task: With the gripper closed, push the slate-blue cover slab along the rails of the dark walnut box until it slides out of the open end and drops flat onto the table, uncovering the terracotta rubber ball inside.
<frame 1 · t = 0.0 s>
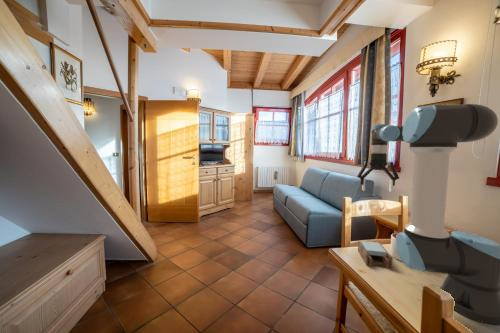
hand: (376, 191, 117), 28 cm above the table, fingers open, 13 cm apart
walnut box: (373, 259, 98), on the table
cup: (402, 258, 99), on the table
ball: (371, 255, 101), resting on walnut box
cover slab: (372, 250, 99), point 4 cm above the table, touching walnut box
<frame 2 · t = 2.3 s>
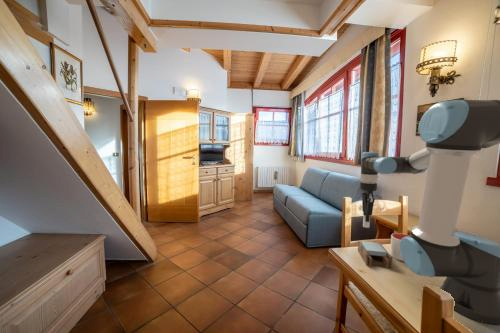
hand: (366, 226, 109), 11 cm above the table, fingers closed
nothing on the table moved.
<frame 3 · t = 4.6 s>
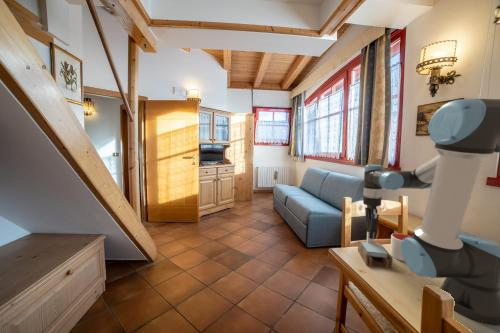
hand: (370, 243, 103), 5 cm above the table, fingers closed
cover slab: (373, 251, 98), point 4 cm above the table, touching gripper
everything else where it was.
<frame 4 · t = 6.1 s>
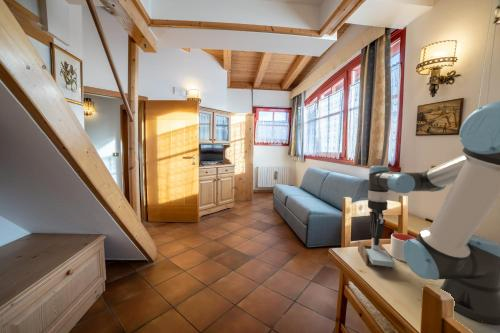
hand: (375, 250, 96), 5 cm above the table, fingers closed
cover slab: (379, 259, 90), point 4 cm above the table, touching gripper, walnut box
everything else where it was.
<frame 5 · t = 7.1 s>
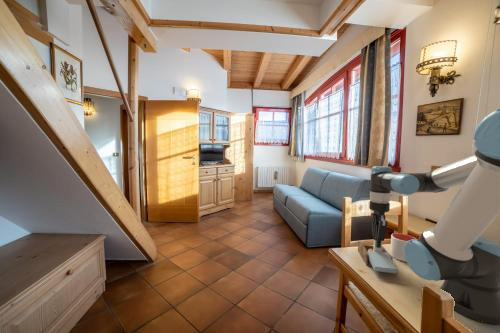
hand: (377, 253, 94), 5 cm above the table, fingers closed
cover slab: (381, 263, 88), point 3 cm above the table, tilted 11°
everything else where it was.
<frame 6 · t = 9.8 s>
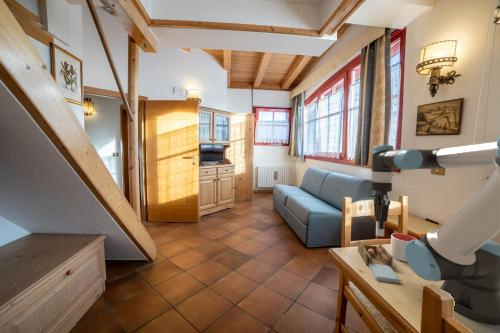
hand: (379, 235, 91), 14 cm above the table, fingers closed
cover slab: (382, 275, 86), on the table
everything else where it was.
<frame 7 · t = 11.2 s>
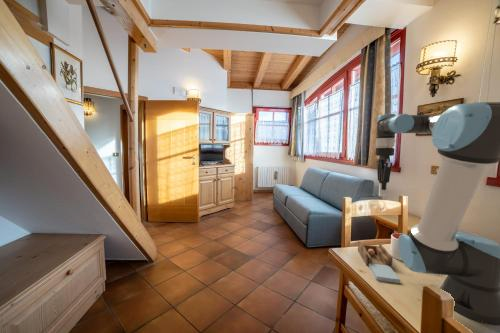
hand: (382, 196, 102), 28 cm above the table, fingers closed
nothing on the table moved.
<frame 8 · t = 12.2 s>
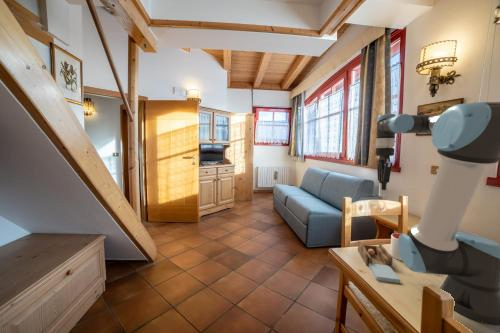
hand: (382, 196, 102), 28 cm above the table, fingers closed
nothing on the table moved.
at the end: cover slab inside the target area (8.1 cm from its centre), on the table; cover slab tilted 0° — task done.
